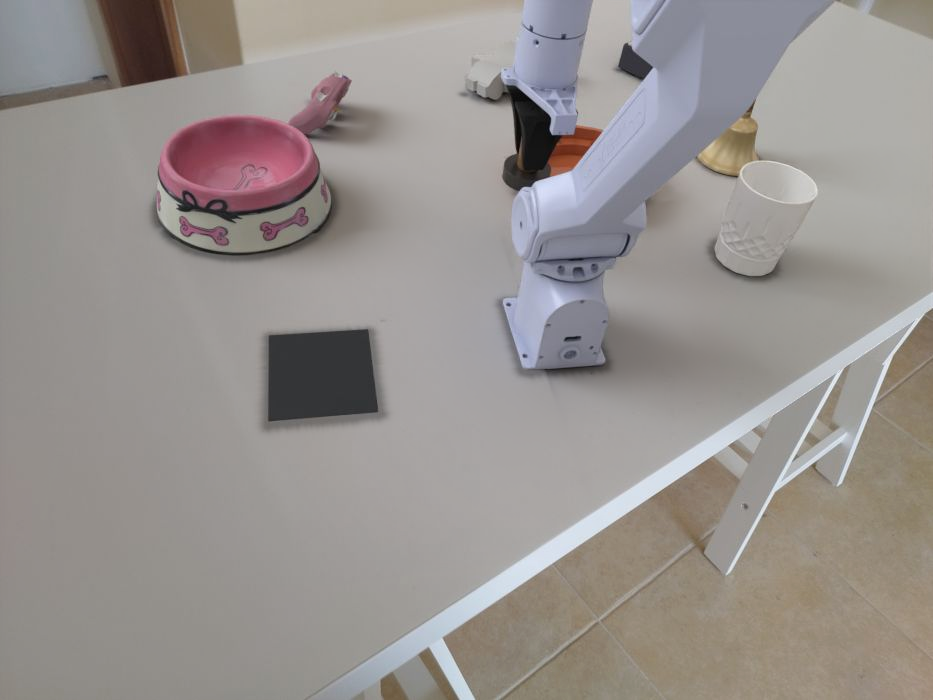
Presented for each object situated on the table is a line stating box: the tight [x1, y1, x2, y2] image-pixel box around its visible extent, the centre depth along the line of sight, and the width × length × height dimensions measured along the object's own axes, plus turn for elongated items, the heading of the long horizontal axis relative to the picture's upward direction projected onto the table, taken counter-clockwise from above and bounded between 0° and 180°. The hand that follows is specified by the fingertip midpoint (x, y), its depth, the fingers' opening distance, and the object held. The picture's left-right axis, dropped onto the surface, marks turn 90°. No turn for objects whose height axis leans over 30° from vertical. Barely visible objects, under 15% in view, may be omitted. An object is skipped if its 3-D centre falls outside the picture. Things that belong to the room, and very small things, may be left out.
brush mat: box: [267, 328, 379, 422], centre depth 65 cm, size 10×9×1 cm
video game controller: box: [287, 71, 353, 135], centre depth 93 cm, size 10×5×7 cm, turn 168°
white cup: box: [713, 159, 819, 277], centre depth 79 cm, size 8×8×10 cm
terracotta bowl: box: [515, 124, 604, 177], centre depth 88 cm, size 16×16×4 cm
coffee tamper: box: [501, 137, 551, 192], centre depth 73 cm, size 5×5×7 cm
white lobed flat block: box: [464, 40, 516, 101], centre depth 105 cm, size 10×5×15 cm
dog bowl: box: [156, 114, 333, 256], centre depth 79 cm, size 18×19×7 cm
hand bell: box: [696, 98, 760, 177], centre depth 91 cm, size 8×8×16 cm
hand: (529, 160), depth 74 cm, fingers closed on coffee tamper, 2 cm apart
